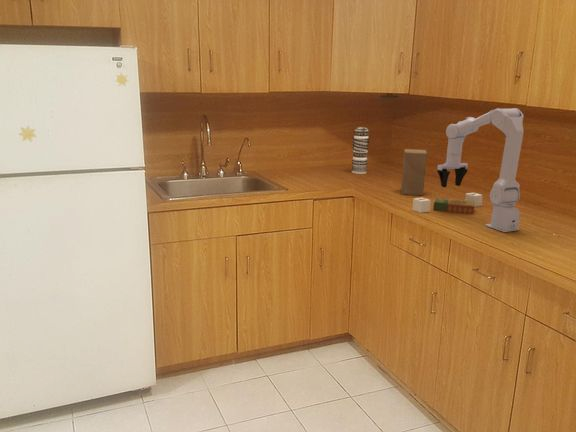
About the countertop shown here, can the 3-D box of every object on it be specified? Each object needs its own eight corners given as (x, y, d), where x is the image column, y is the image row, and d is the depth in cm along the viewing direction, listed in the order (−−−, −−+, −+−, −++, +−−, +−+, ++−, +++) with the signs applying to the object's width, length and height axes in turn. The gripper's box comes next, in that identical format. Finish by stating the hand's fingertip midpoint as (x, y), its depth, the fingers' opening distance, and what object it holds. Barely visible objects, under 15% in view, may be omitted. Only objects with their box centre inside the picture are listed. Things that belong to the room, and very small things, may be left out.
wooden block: (423, 195, 250) (427, 153, 245) (401, 194, 252) (404, 151, 247) (422, 191, 260) (426, 150, 254) (401, 189, 262) (404, 148, 256)
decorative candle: (360, 174, 297) (363, 128, 290) (347, 172, 303) (349, 127, 296) (370, 172, 303) (373, 127, 296) (357, 170, 309) (359, 126, 302)
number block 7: (481, 206, 235) (482, 194, 233) (472, 207, 232) (474, 195, 231) (472, 203, 239) (474, 192, 237) (464, 204, 237) (465, 193, 235)
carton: (473, 215, 221) (474, 205, 219) (432, 211, 226) (433, 201, 224) (473, 210, 228) (474, 200, 227) (434, 206, 233) (435, 196, 232)
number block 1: (429, 211, 223) (430, 199, 222) (420, 213, 221) (421, 200, 219) (421, 208, 227) (422, 197, 226) (412, 210, 225) (413, 198, 224)
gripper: (460, 151, 227) (457, 183, 231) (433, 153, 221) (430, 185, 224) (472, 153, 221) (469, 186, 225) (445, 155, 215) (442, 189, 218)
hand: (450, 186), depth 224 cm, fingers open, 7 cm apart
